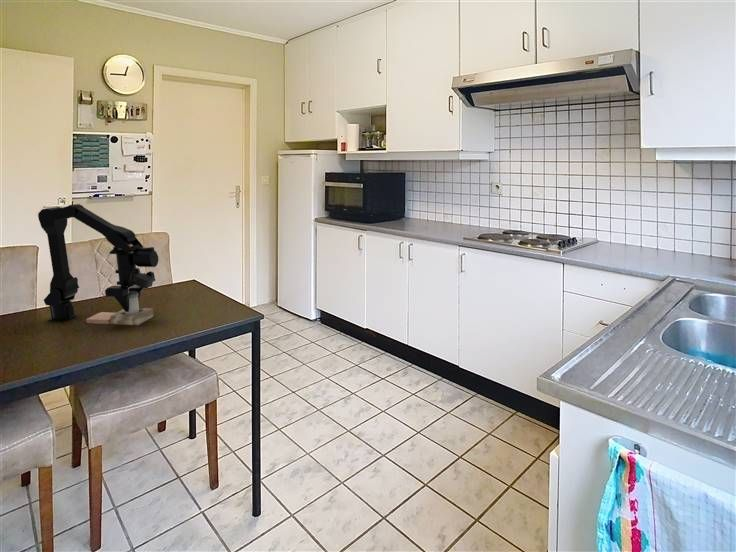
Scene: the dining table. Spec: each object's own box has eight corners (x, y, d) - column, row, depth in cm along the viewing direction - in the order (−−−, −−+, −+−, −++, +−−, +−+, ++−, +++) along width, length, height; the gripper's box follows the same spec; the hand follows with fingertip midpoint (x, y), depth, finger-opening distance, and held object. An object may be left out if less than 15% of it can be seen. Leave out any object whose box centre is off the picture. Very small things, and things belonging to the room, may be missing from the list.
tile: (86, 323, 169) (86, 319, 169) (101, 316, 177) (100, 312, 176) (108, 324, 168) (107, 319, 168) (121, 316, 176) (121, 312, 176)
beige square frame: (111, 324, 168) (110, 315, 167) (127, 315, 178) (126, 307, 177) (138, 325, 167) (137, 317, 167) (153, 316, 177) (152, 308, 176)
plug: (121, 322, 170) (118, 294, 168) (130, 317, 175) (127, 291, 173) (135, 322, 170) (132, 295, 167) (143, 318, 175) (140, 291, 172)
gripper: (133, 273, 158) (138, 318, 162) (162, 261, 176) (166, 302, 180) (101, 272, 159) (107, 317, 163) (133, 260, 177) (138, 301, 181)
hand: (131, 309), depth 172 cm, fingers open, 5 cm apart
